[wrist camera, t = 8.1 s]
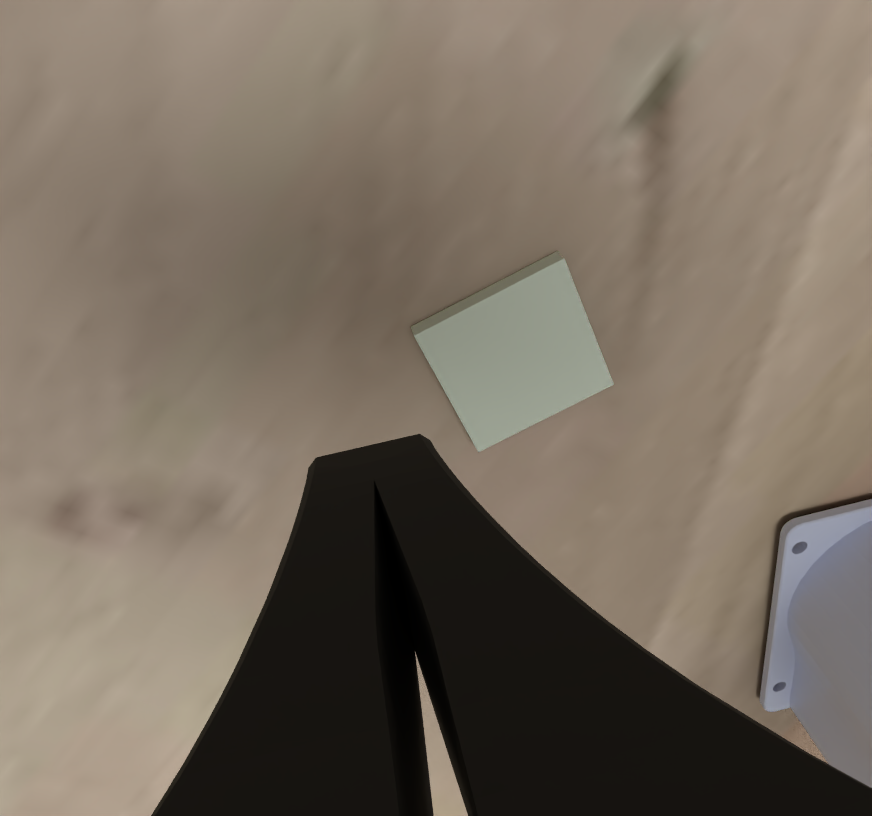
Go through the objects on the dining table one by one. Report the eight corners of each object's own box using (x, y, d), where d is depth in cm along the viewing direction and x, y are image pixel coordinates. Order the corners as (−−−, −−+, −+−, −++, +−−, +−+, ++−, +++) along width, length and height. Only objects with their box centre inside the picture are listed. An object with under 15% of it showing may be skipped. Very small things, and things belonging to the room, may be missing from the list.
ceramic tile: (600, 366, 22) (613, 384, 21) (470, 432, 22) (478, 452, 21) (550, 243, 19) (564, 258, 19) (407, 318, 20) (413, 335, 19)
